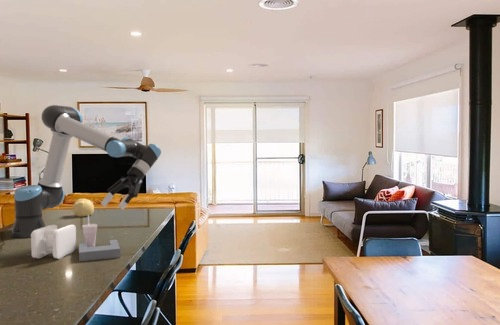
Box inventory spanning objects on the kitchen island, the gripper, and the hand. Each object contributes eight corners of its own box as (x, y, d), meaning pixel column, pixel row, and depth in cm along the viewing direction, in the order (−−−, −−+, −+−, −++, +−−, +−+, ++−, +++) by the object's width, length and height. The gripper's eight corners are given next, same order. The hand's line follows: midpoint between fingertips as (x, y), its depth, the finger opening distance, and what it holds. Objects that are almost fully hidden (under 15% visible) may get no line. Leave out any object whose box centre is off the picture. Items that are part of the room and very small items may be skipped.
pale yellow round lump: (72, 215, 255) (72, 197, 255) (93, 213, 260) (93, 196, 260) (73, 218, 245) (72, 200, 244) (94, 216, 250) (94, 198, 249)
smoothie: (85, 245, 183) (84, 213, 183) (100, 245, 184) (99, 213, 183) (80, 249, 177) (79, 216, 176) (95, 248, 178) (95, 216, 177)
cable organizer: (55, 261, 159) (55, 231, 159) (30, 260, 161) (29, 230, 160) (76, 251, 174) (76, 223, 173) (53, 250, 175) (52, 223, 175)
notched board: (79, 251, 174) (78, 242, 174) (116, 247, 180) (116, 239, 180) (79, 261, 159) (78, 252, 159) (120, 257, 165) (120, 248, 165)
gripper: (160, 177, 194) (133, 214, 183) (127, 175, 209) (100, 208, 198) (150, 167, 189) (123, 204, 178) (117, 164, 204) (90, 199, 193)
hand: (111, 206), depth 188 cm, fingers open, 13 cm apart
